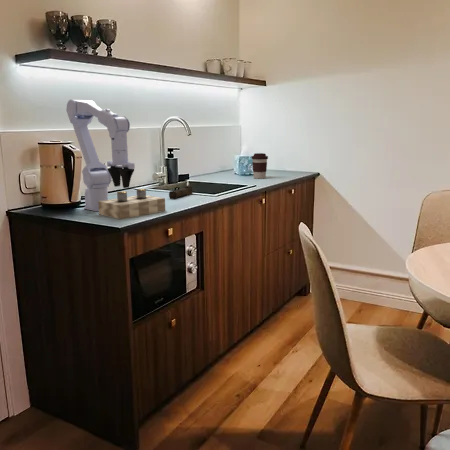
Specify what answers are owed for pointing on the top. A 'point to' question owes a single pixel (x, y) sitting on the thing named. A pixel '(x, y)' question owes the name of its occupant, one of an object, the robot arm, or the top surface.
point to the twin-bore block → (131, 207)
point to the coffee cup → (259, 165)
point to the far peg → (141, 194)
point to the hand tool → (180, 192)
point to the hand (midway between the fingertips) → (121, 187)
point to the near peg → (122, 196)
